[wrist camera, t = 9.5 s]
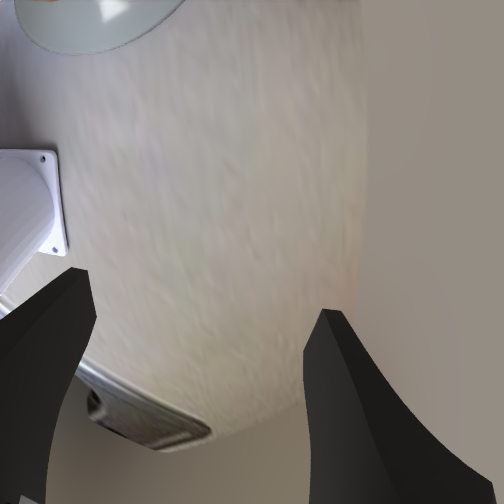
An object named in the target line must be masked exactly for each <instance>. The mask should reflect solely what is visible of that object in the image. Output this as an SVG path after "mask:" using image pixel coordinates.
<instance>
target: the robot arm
mask: <svg viewBox="0 0 504 504" xmlns="http://www.w3.org/2000/svg"><path fill="white" fill-rule="evenodd" d="M43 156H44V157H45V159H46V160H44V159H43ZM55 247H56V248H57V249H56V248H55ZM36 251H39V252H43V253H48V254H53V255H58V256H65V255H66V254H67V252H68V247H67V241H66V235H65V228H64V222H63V214H62V206H61V198H60V188H59V177H58V164H57V155H56V153H55V152H54V151H52V150H27V149H0V297H1V295H2V294H3V293H4V291H5V290H6V289H7V287H8V286H9V285H10V283H11V282H12V281H13V280H14V278H15V277H16V276H17V274H18V273H19V272H20V271H21V270H22V268H23V267H24V266H25V265H26V263H27V262H28V261H29V260H30V259H31V257H32V256H33V255H34V254H35V253H36ZM96 318H97V316H96V311H95V306H94V302H93V297H92V292H91V287H90V281H89V276H88V270H83V269H78V268H73V267H71V268H69V269H68V270H66V271H65V272H63V273H62V274H61V275H59V276H58V277H57V278H55V279H54V280H53V281H51V282H50V283H49V284H47V285H46V286H45V287H43V288H42V289H41V290H39V291H38V292H37V293H36V294H34V295H33V296H32V297H30V298H29V299H28V300H26V301H25V302H24V303H23V304H21V305H20V306H19V307H17V308H16V309H14V310H13V311H12V312H10V313H9V314H8V315H6V316H5V317H4V318H2V319H1V320H0V504H19V502H20V503H22V504H45V495H46V478H47V469H48V462H49V455H50V449H51V443H52V439H53V434H54V430H55V426H56V422H57V418H58V414H59V411H60V407H61V405H62V402H63V399H64V396H65V394H66V392H67V389H68V387H69V385H70V383H71V380H72V378H73V376H74V374H75V371H76V369H77V367H78V365H79V362H80V360H81V358H82V356H83V354H84V351H85V349H86V347H87V345H88V342H89V339H90V336H91V333H92V330H93V327H94V324H95V321H96ZM303 382H304V391H305V399H306V407H307V415H308V425H309V433H310V444H311V478H310V496H309V504H497V503H496V498H495V493H494V489H493V485H492V482H490V481H489V480H487V479H486V478H485V477H483V476H482V475H480V474H479V473H477V472H476V471H474V470H473V469H472V468H470V467H468V466H467V465H466V464H465V463H464V462H462V461H461V460H460V459H459V458H458V457H456V456H455V455H454V454H452V453H451V452H450V451H449V450H448V449H447V448H446V447H445V446H444V445H443V444H442V443H440V442H439V441H438V440H437V439H436V438H435V437H434V436H433V435H432V434H431V433H430V432H429V431H428V430H427V429H426V428H425V427H424V426H423V424H422V423H421V422H420V421H419V420H418V419H417V418H416V417H415V415H414V414H413V413H412V412H411V411H410V410H409V409H408V407H407V406H406V405H405V404H404V403H403V401H402V400H401V399H400V398H399V396H398V395H397V394H396V392H395V391H394V390H393V388H392V387H391V386H390V384H389V383H388V381H387V380H386V379H385V377H384V376H383V374H382V373H381V372H380V370H379V369H378V367H377V366H376V364H375V363H374V361H373V360H372V358H371V357H370V355H369V354H368V352H367V351H366V349H365V348H364V346H363V345H362V343H361V341H360V340H359V338H358V337H357V335H356V333H355V332H354V330H353V329H352V327H351V326H350V324H349V322H348V321H347V319H346V318H345V316H344V315H343V313H342V312H341V311H338V310H330V309H322V311H321V313H320V315H319V317H318V320H317V322H316V324H315V327H314V329H313V331H312V333H311V336H310V338H309V340H308V342H307V344H306V346H305V349H304V351H303Z"/></svg>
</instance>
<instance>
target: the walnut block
mask: <svg viewBox="0 0 504 504" xmlns="http://www.w3.org/2000/svg"><path fill="white" fill-rule="evenodd" d="M35 1H45V2H54V1H59V0H35Z"/></svg>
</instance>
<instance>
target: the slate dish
mask: <svg viewBox="0 0 504 504" xmlns="http://www.w3.org/2000/svg"><path fill="white" fill-rule="evenodd" d="M183 2H184V0H59V1H54V2H45V1H35V0H14V4H15V11H16V15H17V19H18V21H19V23H20V26H21V28H22V29H23V31H24V32H25V34H26V35H27V36H28V37H29V38H30V39H31V40H32V41H33V42H34V43H35V44H37V45H38V46H39V47H42V48H44V49H46V50H48V51H51V52H54V53H57V54H65V55H83V54H92V53H100V52H104V51H108V50H112V49H115V48H118V47H120V46H123V45H126V44H128V43H130V42H132V41H134V40H136V39H138V38H140V37H141V36H143V35H145V34H146V33H148V32H150V31H151V30H152V29H154V28H155V27H157V26H158V25H159V24H161V23H162V22H163V21H164V20H165V19H167V18H168V17H169V16H170V15H171V14H172V13H173V12H174V11H175V10H176V9H177V8H178V7H179V6H180V5H181V4H182V3H183Z"/></svg>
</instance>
